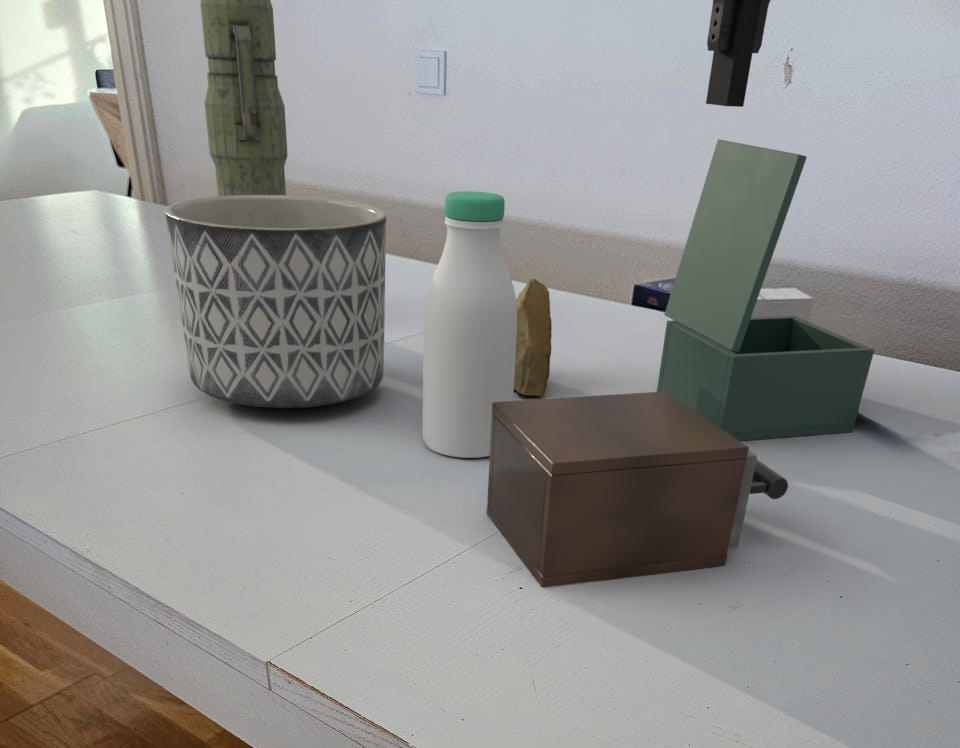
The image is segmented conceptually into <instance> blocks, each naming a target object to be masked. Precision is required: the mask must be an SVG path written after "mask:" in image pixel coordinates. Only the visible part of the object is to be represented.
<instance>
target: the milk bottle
mask: <svg viewBox="0 0 960 748" xmlns="http://www.w3.org/2000/svg"><path fill="white" fill-rule="evenodd" d="M505 202H506V201H505V197H504V196H502V195H501V194H498V193H493V192H486V191H472V190H471V191H467V190H466V191H465V190H462V191H452V192H449V193H446V195H445V199H444V215H445V219H444V225H446V228H447V233H446V239H445V243H444V247H443V250H442V254H441V257H440V259H439V262H438V264H437V267H436V269H435V271H434V273H433V276H432V278H431V280H430V283H429V286H428V289H427V293H426V298H425V305H424V316H423V317H424V319H423V320H424V321H423V324H424V325H423V351H422V352H423V354H422V355H423V356H422V357H423V358H422V439H423V442H424V444H425V446H426V447H428V448H429V450H432V451H433V452H435V453H438V454H441V455H445V456H448V457H452V458H453V457H454V458H463V459H464V458H467V459H474V458H475V459H476V458H485V457H490V440H491V420H492V414H493V413H492V403H493V402H504V401H514V391H515V390H514V375H515V356H516V337H517V304H516V299H517V297H516V291H515V288H514V287H515V286H514V284H513V281H512V278H511V275H510V272H509V270H508V267H507V265H506V261H505V257H504V253H503V248H502V243H501V229H502V228H503V227H504V217H505V205H506V204H505Z"/></svg>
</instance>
